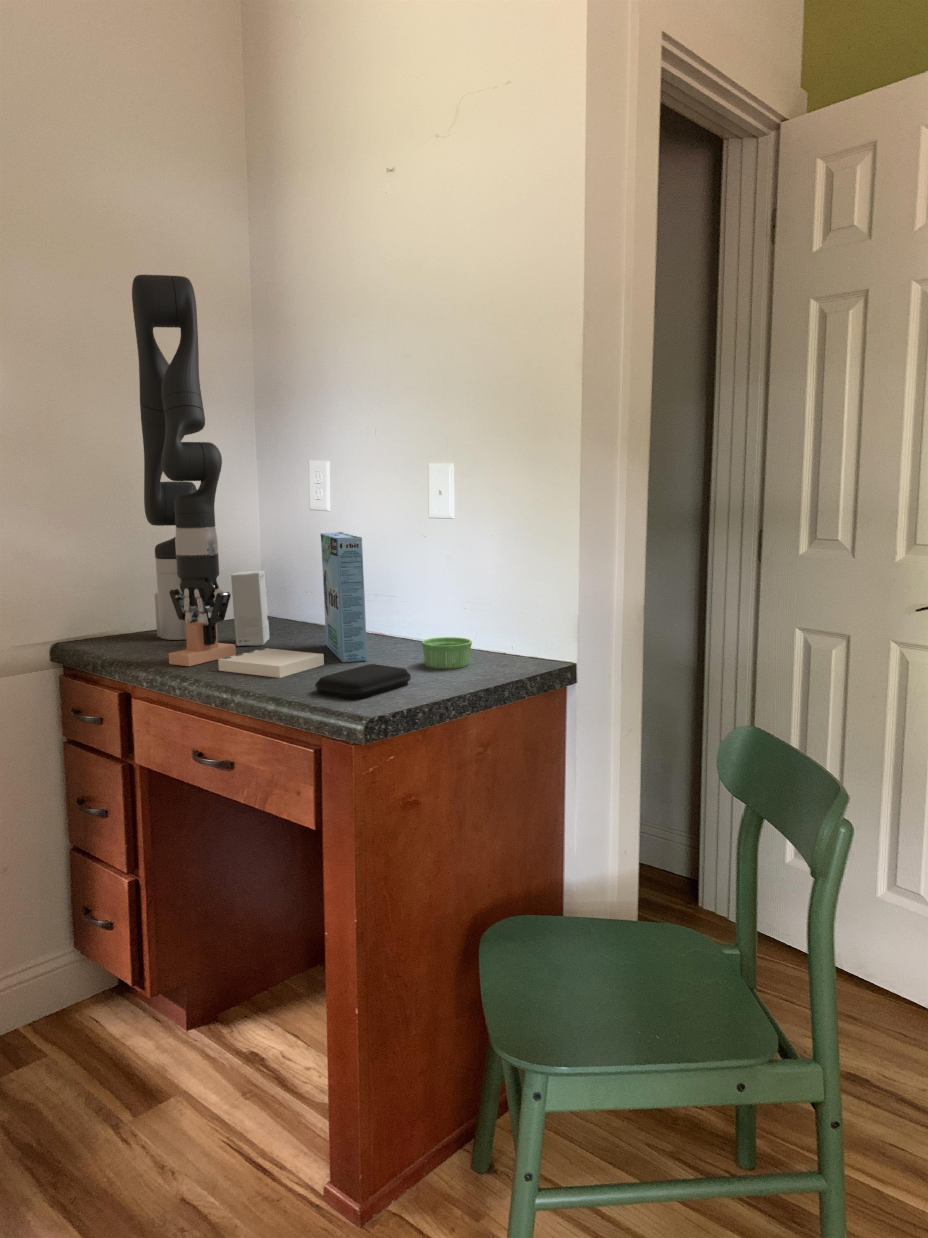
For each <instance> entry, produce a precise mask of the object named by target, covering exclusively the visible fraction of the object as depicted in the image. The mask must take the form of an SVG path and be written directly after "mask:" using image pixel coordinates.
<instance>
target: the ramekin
mask: <svg viewBox="0 0 928 1238" xmlns="http://www.w3.org/2000/svg"><path fill="white" fill-rule="evenodd" d="M472 644H473V642H472V640H471V639H469V638H466V637H457V636H456V637H455V636H451V637H450V636H449V637H448V636H446V637H443V636H442V637H433V638H426V639H423V640H422V641H421V645H422V650H423V659H424V665H425V666H426V667H427V668H431V669H435V670H436V669H437V670H452V669H453V670H454V669H456V670H457V669H461V668H466V667H468V666H469V665H470V661H471V647H472Z"/></svg>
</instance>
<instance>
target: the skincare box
mask: <svg viewBox="0 0 928 1238" xmlns="http://www.w3.org/2000/svg"><path fill="white" fill-rule="evenodd" d="M230 578H231V579H230V580H231V590H232V607H233V619H234V623H233V624H234V633H235V646H237V647H239V646H241V647H243V646H250V647H251V646H258V647H259V646H264V645H265V643H267V642H268V641H269V640H270V625H269V613H268V612H269V611H268V599H267V597H268V595H267V588H266V587H267V586H266V571H265V570H253V571H252V570H251V571H250V570H249V571H247V570H246V571H238V572H234V573H233V574H231V575H230Z"/></svg>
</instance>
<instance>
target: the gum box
mask: <svg viewBox="0 0 928 1238" xmlns="http://www.w3.org/2000/svg"><path fill="white" fill-rule="evenodd" d="M320 542H321V543H320V545H321V562H322V563H321V564H322V582H323V584H322V585H323V603H324V625H325V626H324V627H325V645H326V647H327V648H329V650H330V651H331V652H332V653H333V654H334V655H335V656H336V657H337V658H338V659H339V660H340V661H341V663H349V662H350V663H351V662H364V661H368V647H367V644H368V643H367V628H366V627H367V626H366V624H367V623H366V600H365V599H366V597H365V579H364V578H365V577H364V559H363V558H364V555H363V553H364V552H363V537H361V536H357V535H354V534H350V533H344V532H342V531H340V532H338V531H337V532H321V533H320Z"/></svg>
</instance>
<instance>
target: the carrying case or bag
mask: <svg viewBox="0 0 928 1238" xmlns="http://www.w3.org/2000/svg"><path fill="white" fill-rule="evenodd" d="M411 678H412V677H411V673H410V672H408V669H405V668H404V667H403V668H402V667H398V666H397V667H396V666H391V665H390V666H389V665H384V664H376V663H373V664H372V663H371V664H366V665H362V666H358V667H353V668H350V669H346V670H343V671H339V672H335V673H332V674H327V675H324V676H322V677H320V678H319V679H318V680H317V681H316V682H315V684H314V686H315V689H316V690H317V691H318V692H319V694H321V695H323V696H329V697H335V698H339V699H340V698H341V699H348V700H361V699H365V698H368V697H371V696H374V695H377V694H381V693H384V692H388V691H391V690H393V689H398V688H400V687H404V686H406V685H408V682H410V680H411Z"/></svg>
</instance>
